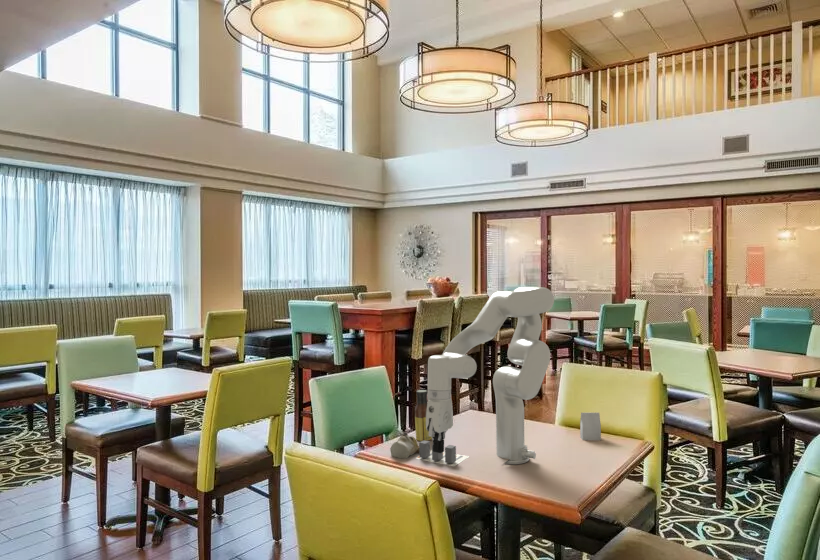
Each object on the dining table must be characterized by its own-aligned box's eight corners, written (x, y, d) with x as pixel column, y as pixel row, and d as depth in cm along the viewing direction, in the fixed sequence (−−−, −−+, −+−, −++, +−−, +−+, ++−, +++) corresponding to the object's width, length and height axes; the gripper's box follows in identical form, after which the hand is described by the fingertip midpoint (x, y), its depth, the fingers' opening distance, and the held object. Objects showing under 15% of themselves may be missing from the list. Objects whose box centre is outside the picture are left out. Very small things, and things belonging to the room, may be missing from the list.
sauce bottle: (433, 440, 217) (432, 388, 216) (432, 445, 210) (431, 392, 210) (415, 440, 217) (415, 388, 217) (414, 445, 211) (413, 392, 211)
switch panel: (469, 460, 193) (469, 456, 193) (454, 470, 184) (453, 466, 184) (432, 453, 201) (432, 449, 201) (415, 462, 192) (414, 458, 192)
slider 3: (456, 461, 187) (455, 446, 187) (451, 463, 185) (451, 448, 185) (449, 459, 189) (449, 444, 189) (445, 462, 186) (445, 447, 186)
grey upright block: (600, 440, 214) (600, 413, 214) (582, 440, 215) (582, 413, 215) (598, 437, 218) (597, 411, 218) (580, 437, 218) (580, 411, 218)
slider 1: (430, 456, 193) (429, 441, 193) (425, 458, 190) (425, 443, 190) (424, 454, 194) (423, 440, 194) (419, 457, 192) (419, 442, 192)
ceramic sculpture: (382, 435, 194) (403, 427, 208) (381, 460, 194) (402, 450, 207) (410, 439, 189) (429, 430, 203) (409, 465, 189) (428, 455, 202)
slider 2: (442, 458, 190) (442, 443, 190) (438, 461, 188) (438, 446, 188) (436, 457, 192) (436, 442, 191) (432, 459, 189) (431, 444, 189)
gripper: (437, 400, 173) (436, 460, 173) (460, 392, 185) (459, 448, 185) (416, 396, 177) (415, 455, 177) (440, 389, 189) (439, 444, 189)
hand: (438, 451), depth 181 cm, fingers closed
